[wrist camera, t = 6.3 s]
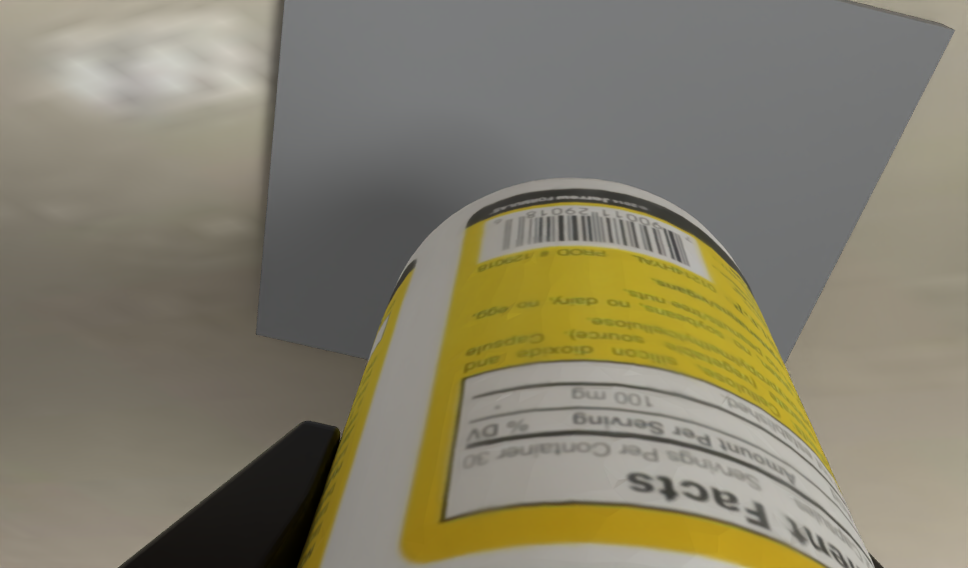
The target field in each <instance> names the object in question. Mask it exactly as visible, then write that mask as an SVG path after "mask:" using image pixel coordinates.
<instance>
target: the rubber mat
mask: <svg viewBox="0 0 968 568" xmlns="http://www.w3.org/2000/svg"><path fill="white" fill-rule="evenodd" d="M954 31H955V30H954V29H951V28H949V27H947V26H945V25H943V24H941V23H937V22H933V21H929V20H925V19H921V18H917V17H913V16H909V15H905V14H901V13H897V12H893V11H889V10H885V9H881V8H877V7H873V6H869V5H865V4H861V3H857V2H853V1H849V0H285V2H284V13H283V25H282V37H281V48H280V60H279V72H278V83H277V95H276V106H275V118H274V130H273V141H272V153H271V165H270V176H269V188H268V200H267V211H266V223H265V235H264V246H263V258H262V270H261V281H260V293H259V305H258V316H257V328H256V335H261V336H265V337H270V338H274V339H278V340H283V341H287V342H292V343H296V344H301V345H305V346H310V347H314V348H319V349H323V350H328V351H332V352H337V353H341V354H345V355H350V356H354V357H359V358H363V359H369V357H370V353H371V350H372V347H373V344H374V341H375V338H376V335H377V331H378V329H379V326H380V323H381V321H382V318H383V316H384V313H385V310H386V308H387V305H388V303H389V300H390V298H391V295H392V293H393V291H394V288H395V286H396V284H397V281H398V279H399V277H400V275H401V273H402V272H403V270H404V268H405V266H406V264H407V263H408V261H409V260H410V258H411V257H412V255H413V254H414V253H415V251H416V250H417V249H418V247H419V246H420V245H421V244H422V242H423V241H424V240H425V239H426V238H427V237H428V236H429V235H430V234H431V233H432V232H433V231H434V230H435V229H436V228H437V227H438V226H439V225H440V224H442V223H443V222H444V221H445V220H446V219H448V218H449V217H450V216H451V215H453V214H454V213H456V212H457V211H459V210H461V209H462V208H464V207H465V206H467V205H468V204H470V203H472V202H474V201H476V200H478V199H481V198H483V197H485V196H487V195H489V194H492V193H494V192H496V191H499V190H501V189H504V188H508V187H511V186H514V185H518V184H522V183H526V182H530V181H536V180H544V179H552V178H588V179H599V180H605V181H611V182H618V183H621V184H625V185H629V186H632V187H635V188H638V189H641V190H644V191H646V192H649V193H651V194H654V195H656V196H658V197H660V198H663V199H665V200H667V201H669V202H671V203H672V204H674V205H676V206H677V207H679V208H681V209H682V210H684V211H685V212H687V213H688V214H689V215H691V216H692V217H694V218H695V219H696V220H697V221H699V222H700V223H701V224H702V225H703V226H704V227H705V228H706V229H707V230H708V231H709V232H710V233H711V234H712V235H713V236H714V237H715V238H716V239H717V240H718V241H719V242H720V243H721V244H722V246H723V247H724V248H725V249H726V250H727V252H728V253H729V254H730V256H731V257H732V258H733V260H734V262H735V263H736V265H737V266H738V268H739V269H740V271H741V273H742V274H743V276H744V278H745V279H746V281H747V283H748V284H749V286H750V288H751V291H752V293H753V296H754V298H755V301H756V303H757V305H758V307H759V309H760V311H761V313H762V315H763V318H764V320H765V322H766V324H767V327H768V329H769V331H770V333H771V336H772V338H773V340H774V342H775V345H776V347H777V349H778V351H779V354H780V356H781V358H782V360H783V363H784V365H785V363H786V361H787V359H788V357H789V355H790V353H791V351H792V349H793V347H794V345H795V343H796V341H797V339H798V337H799V335H800V333H801V331H802V329H803V327H804V325H805V323H806V321H807V319H808V318H809V316H810V314H811V312H812V310H813V308H814V306H815V304H816V302H817V300H818V298H819V296H820V294H821V292H822V290H823V288H824V286H825V284H826V282H827V280H828V278H829V276H830V274H831V272H832V270H833V269H834V267H835V265H836V263H837V261H838V259H839V257H840V255H841V253H842V251H843V249H844V247H845V245H846V243H847V241H848V239H849V237H850V235H851V233H852V231H853V229H854V227H855V225H856V223H857V221H858V220H859V218H860V216H861V214H862V212H863V210H864V208H865V206H866V204H867V202H868V200H869V198H870V196H871V194H872V192H873V190H874V188H875V186H876V184H877V182H878V180H879V178H880V176H881V174H882V172H883V171H884V169H885V167H886V165H887V163H888V161H889V159H890V157H891V155H892V153H893V151H894V149H895V147H896V145H897V143H898V141H899V139H900V137H901V135H902V133H903V131H904V129H905V127H906V125H907V123H908V122H909V120H910V118H911V116H912V114H913V112H914V110H915V108H916V106H917V104H918V102H919V100H920V98H921V96H922V94H923V92H924V90H925V88H926V86H927V84H928V82H929V80H930V78H931V76H932V74H933V72H934V71H935V69H936V67H937V65H938V63H939V61H940V59H941V57H942V55H943V53H944V51H945V49H946V47H947V45H948V43H949V41H950V39H951V37H952V35H953V33H954Z"/></svg>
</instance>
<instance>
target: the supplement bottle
mask: <svg viewBox="0 0 968 568" xmlns="http://www.w3.org/2000/svg"><path fill="white" fill-rule="evenodd" d="M297 568H875V567H874V565H873V562H872V560H871V558H870V555H869V553H868V551H867V549H866V547H865V545H864V543H863V541H862V538H861V536H860V534H859V532H858V530H857V528H856V525H855V523H854V520H853V518H852V516H851V513H850V511H849V509H848V506H847V504H846V502H845V500H844V497H843V495H842V493H841V491H840V488H839V486H838V484H837V482H836V480H835V477H834V475H833V473H832V471H831V468H830V466H829V464H828V461H827V459H826V457H825V455H824V453H823V451H822V448H821V446H820V444H819V441H818V439H817V437H816V434H815V432H814V430H813V427H812V425H811V423H810V421H809V418H808V416H807V414H806V412H805V410H804V408H803V405H802V403H801V401H800V399H799V396H798V394H797V392H796V390H795V388H794V385H793V383H792V381H791V379H790V376H789V374H788V372H787V369H786V367H785V365H784V363H783V360H782V358H781V356H780V354H779V351H778V349H777V347H776V345H775V342H774V340H773V338H772V336H771V333H770V331H769V329H768V327H767V324H766V322H765V320H764V318H763V315H762V313H761V311H760V309H759V307H758V305H757V303H756V301H755V298H754V296H753V293H752V291H751V288H750V286H749V284H748V283H747V281H746V279H745V278H744V276H743V274H742V273H741V271H740V269H739V268H738V266H737V265H736V263H735V262H734V260H733V258H732V257H731V256H730V254H729V253H728V252H727V250H726V249H725V248H724V247H723V246H722V244H721V243H720V242H719V241H718V240H717V239H716V238H715V237H714V236H713V235H712V234H711V233H710V232H709V231H708V230H707V229H706V228H705V227H704V226H703V225H702V224H701V223H700V222H699V221H697V220H696V219H695V218H694V217H692V216H691V215H689V214H688V213H687V212H685V211H684V210H682V209H681V208H679V207H677V206H676V205H674V204H672V203H671V202H669V201H667V200H665V199H663V198H660V197H658V196H656V195H654V194H651V193H649V192H646V191H644V190H641V189H638V188H635V187H632V186H629V185H625V184H621V183H618V182H611V181H605V180H599V179H588V178H552V179H544V180H536V181H530V182H526V183H522V184H518V185H514V186H511V187H508V188H504V189H501V190H499V191H496V192H494V193H492V194H489V195H487V196H485V197H483V198H481V199H478V200H476V201H474V202H472V203H470V204H468V205H467V206H465V207H464V208H462V209H461V210H459V211H457V212H456V213H454V214H453V215H451V216H450V217H449V218H448V219H446V220H445V221H444V222H443V223H442V224H440V225H439V226H438V227H437V228H436V229H435V230H434V231H433V232H432V233H431V234H430V235H429V236H428V237H427V238H426V239H425V240H424V241H423V242H422V244H421V245H420V246H419V247H418V249H417V250H416V251H415V253H414V254H413V255H412V257H411V258H410V260H409V261H408V263H407V264H406V266H405V268H404V270H403V272H402V273H401V275H400V277H399V279H398V281H397V284H396V286H395V288H394V291H393V293H392V295H391V298H390V300H389V303H388V305H387V308H386V310H385V313H384V316H383V318H382V321H381V323H380V326H379V329H378V331H377V335H376V338H375V341H374V344H373V347H372V350H371V353H370V357H369V359H368V362H367V365H366V368H365V371H364V374H363V377H362V380H361V382H360V385H359V388H358V391H357V394H356V397H355V400H354V403H353V405H352V409H351V412H350V414H349V417H348V420H347V423H346V425H345V428H344V431H343V435H342V438H341V440H340V443H339V446H338V448H337V451H336V454H335V457H334V459H333V462H332V466H331V469H330V472H329V475H328V477H327V480H326V483H325V487H324V490H323V493H322V495H321V498H320V501H319V504H318V507H317V510H316V512H315V515H314V518H313V521H312V524H311V528H310V531H309V534H308V537H307V539H306V542H305V545H304V548H303V551H302V554H301V557H300V560H299V563H298V566H297Z"/></svg>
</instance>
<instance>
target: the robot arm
mask: <svg viewBox="0 0 968 568" xmlns="http://www.w3.org/2000/svg"><path fill="white" fill-rule="evenodd" d="M339 442H340V431H339V429H338V428H337V427H335V426H330V425H326V424H321V423H317V422H312V421H304V422H302V423H300V424H299V425H298V426H296V427H295V428H294V429H293V430H291V431H290V432H289V433H287V434H286V435H285V436H284V437H282V438H281V439H280V440H279V441H277V442H276V443H275V444H274V445H272V446H271V447H270V448H269V449H267V450H266V451H265V452H263V453H262V454H261V455H260V456H258V457H257V458H256V459H255V460H253V461H252V462H251V463H250V464H248V465H247V466H246V467H245V468H243V469H242V470H241V471H239V472H238V473H237V474H236V475H234V476H233V477H232V478H231V479H229V480H228V481H227V482H226V483H224V484H223V485H222V486H221V487H219V488H218V489H217V490H215V491H214V492H213V493H212V494H210V495H209V496H208V497H207V498H205V499H204V500H203V501H202V502H200V503H199V504H198V505H197V506H195V507H194V508H193V509H191V510H190V511H189V512H188V513H186V514H185V515H184V516H183V517H181V518H180V519H179V520H178V521H176V522H175V523H174V524H172V525H171V526H170V527H169V528H167V529H166V530H165V531H164V532H162V533H161V534H160V535H159V536H157V537H156V538H155V539H154V540H152V541H151V542H150V543H148V544H147V545H146V546H145V547H143V548H142V549H141V550H140V551H138V552H137V553H136V554H135V555H133V556H132V557H131V558H129V559H128V560H127V561H126V562H124V563H123V564H122V565H121V566H119V567H118V568H297V566H298V563H299V560H300V557H301V554H302V551H303V548H304V545H305V542H306V539H307V537H308V534H309V531H310V528H311V524H312V521H313V518H314V515H315V512H316V510H317V507H318V504H319V501H320V498H321V495H322V493H323V490H324V487H325V483H326V480H327V477H328V475H329V472H330V469H331V466H332V462H333V459H334V457H335V454H336V451H337V448H338V446H339ZM868 553H869V552H868ZM869 555H870V558H871V560H872V562H873V565H874V567H875V568H883V567H882V566H881V565H880V563H879V562H878V561H877V560H876V559H875V558H874V557H873V556H872V555H871V554H870V553H869Z"/></svg>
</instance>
